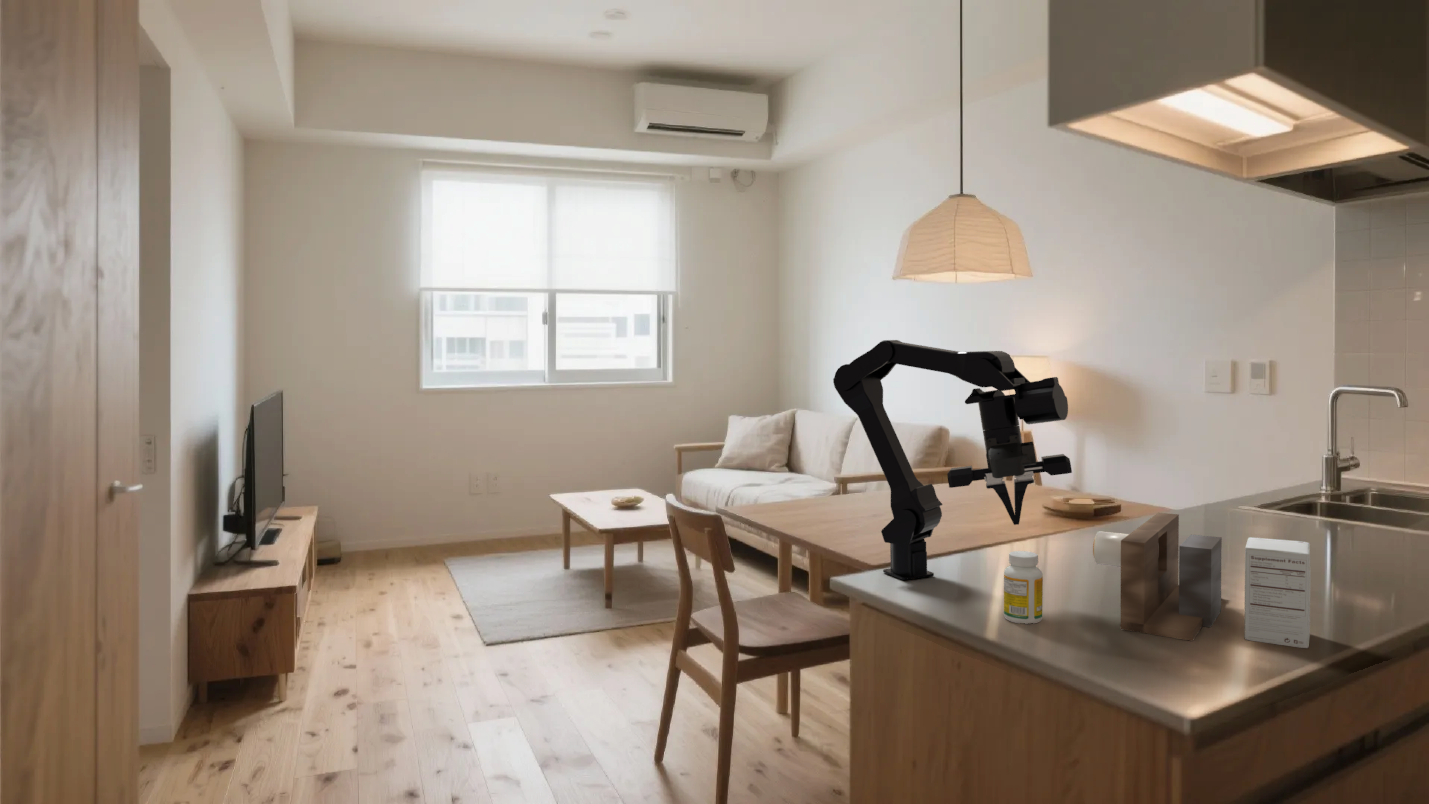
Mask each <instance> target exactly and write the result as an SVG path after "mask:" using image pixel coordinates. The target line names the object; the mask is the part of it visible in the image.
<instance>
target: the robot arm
mask: <svg viewBox="0 0 1429 804" xmlns="http://www.w3.org/2000/svg"><path fill="white" fill-rule="evenodd" d="M1014 362H1015V361H1014V360H1013V358H1012V357H1011V355H1010V353H1007V352H1005V351H1002V350H989V351H988V350H987V351H986V350H983V351H982V350H981V351H958V350H957V351H956V350H952V349H944V348H939V347H933V346H929V345H928V346H926V345H921V344H914V343H908V342H902V341H900V340H899V339H888V340H887V339H886V340H881V341H880V342H879V343H877V344H876V345H875V346H873V347H872V348H871V349H870V350H868V351H866V352H865V353H863V354H861V355H859V356H858V357H856V358H855V359H853V360H852V361H851V362H850V363H848V364H847V363H846V364H843V365H841V366H840V367H839V368H837V370H836V372H834V373H835V374H834V377H833V379H832V380H833V386H834V388H835V391H836V392H837V394H838V395H839V396H840V398H841V399H842V401H843V402H844V404H846V405H847V406H848V408H850V409H851V410H852V411H853V412H854V414H856V415H857V417H858V419H859V421H860V423H861V425H862V428H863V429H864V432H865V435H866V436H867V437H866V438H867V439H868V441H869V443H870V445H871V448H872V450H873V453H874V455H875V457H876V459H877V461H878V464H879V466H880V468H881V470H882V472H883V476H884V477H885V479H886V481H887V484H888V486H889V489H890V509H891V514H892V516H893V519H891V520H890V522H888V523H887V524H886V525H885V526H884V527H883V528H882V529H881V530H880V531H881V535H882V538H883V542H884V543H886V544H887V543H888V544H890V545H889V546H890V555H889V557H890V568H885V569H883V570H882V572H883V574H886V575H889V576H892V577H895V578H897V579H899V580H902V581H908V580H909V581H910V580H913V579H914V580H915V579H921V578H928V577H934V576H935V573H934V572H933V571H930V570H928V552H927V541H925V540H926V539H927V538H931V537H932V535H933V531H934V529H935V528H937V527H938V525H939V524H940V522H941V519H942V517H943V512H942V509H941V506H943V503H942V501H940V499H939V498H938V496H937V494H936V493H937V492H936V489H935V487H934V485H933V484H932V483H929V484H926V485H924V484H923V483H922V482H921V481H920V480H918V478H917V477H916V475H915V473H914V471H913V469H912V466H911V463H910V462H909V459H908V457H907V455H906V453H905V450H904V449H903V446H902V444H901V442H900V440H899V437H898V435H897V433H896V431H895V429H894V427H893V425H892V423H891V419H890V418H889V415H888V414H887V412H886V409H885V407H884V387H883V383H882V381H883V379H885V378H886V377H887V376H888V375H889V374H890V373H891V372H892V371H893V369H895V366H896V365H901V366H906V367H911V368H915V369H922V370H928V371H933V372H938V373H944V374H949V375H952V376H954V377H956V378H958V379H959V380H962V381H963V382H965V383H968V384H972V385H974V386H976V387H977V388H973V389H972V390H971V393H970V395H969V396H968V397H966V399H965V400H964V404H965V405H971V404H978V411H979V416H980V422H981V428H982V434H983V435H982V436H983V441H984V446H985V457H986V463H987V467H985V468H977V469H973V466H972V465H965V466H959V467H951V468H950V469H949V470H948V472H947V474H946V475H947V483H948V488H950V489H951V488H961V487H968V486H970V485H971V484H972V482H973V481H974V482H975V481H983V480H984V482H986V484H985V487H986V489H988V490H989V489H993V491H995V493H996V494H997V496H998V498H999V499H1000V501H1001V502H1002V504H1003V506H1004V508H1005V509H1006V512H1007V514H1008V516H1009V518H1010V519H1011V522H1012V524H1013V525H1014V526H1016V525H1018V526H1019V524H1020V522H1021V521H1020V520H1021V515H1022V507H1023V502H1024V498H1025V493H1026V490H1027V487H1028V485H1030V484H1034V483H1035V480H1034V477H1033V476H1034V474H1041V473H1047V474H1048V475H1050V476H1058V475H1067V474H1072V473H1073V471H1072V464H1071V460H1070V458H1069V457H1068V456H1067V455H1065V454H1064V453H1061V454H1053V455H1044V456H1041V461H1037V457H1036V451H1035V445H1034V442H1033V441H1026V442H1023V440H1022V439H1023V438H1022V434H1021V429H1020V428H1021V427H1020V420H1023V421H1024V423H1025V424H1026V425H1033V424H1034V425H1035V424H1043V423H1050V422H1059V421H1060V422H1061V421H1065V420H1066V419H1067V418H1068V413H1069V404H1068V403H1069V401H1068V397H1067V396H1066V395H1065V391H1064V389H1063V387H1062V386H1061V385H1060V382H1059V377H1057V376H1054V377H1047V378H1043V379H1040V380H1036V381H1035V380H1034V381H1030V380H1029V379H1028V378H1027V377H1025V375H1023V373H1022V372H1021V371H1020V370H1018V368H1016V366H1015V363H1014ZM978 387H979V388H978ZM982 388H994V390H993V389H992V390H987V391H983V390H982ZM1012 390H1014V394H1005V393H1004V391H1006V392H1007V391H1012ZM1006 477H1007V478H1008V477H1014V479H1013V493H1014V494H1013V496H1014V498H1013V499H1014V500H1013V501H1014V507H1013V505H1012V501H1011V497H1010V494H1009V491H1008V488H1007V484H1006V481H1005V480H1004V478H1006Z"/></svg>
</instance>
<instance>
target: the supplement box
mask: <svg viewBox="0 0 1429 804" xmlns="http://www.w3.org/2000/svg"><path fill="white" fill-rule="evenodd" d="M1310 549H1311V543H1310V542H1307V541H1301V540H1290V539H1289V540H1288V539H1279V538H1278V539H1277V538H1276V539H1275V538H1262V537H1250V536H1249V537H1248V538H1247V541H1246V544H1245V547H1244V550H1245V551H1244V639H1245V640H1246V641H1252V642H1257V643H1263V644H1264V643H1266V644H1272V645H1278V646H1279V645H1280V646H1287V647H1293V648H1300V649H1301V648H1302V649H1308V648H1309V644H1310V635H1311V632H1310V631H1311V550H1310Z"/></svg>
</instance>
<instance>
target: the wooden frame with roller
mask: <svg viewBox="0 0 1429 804" xmlns="http://www.w3.org/2000/svg"><path fill="white" fill-rule="evenodd" d="M1179 520H1180V514H1176V513H1167V512H1165V513H1164V512H1157V513H1155V514H1154V515H1153V516H1151V517H1150V518H1149V519H1148V520H1147V521H1145V522H1144V523H1142V524H1141V525H1140V526H1138V527H1137V528H1136V529H1134V530H1133V531H1132V532H1130V533H1128V534H1129V535H1128V536H1126V537H1125V538H1124V539H1122V540H1121V567H1120V630H1121V629H1124V630H1123V631H1128V632H1133V633H1141V634H1146V635H1147V634H1148V635H1154V636H1159V637H1160V636H1161V637H1164V638H1165V637H1167V638H1173V639H1178V640H1185V641H1191V642H1192V641H1194V639H1196V637H1197V635H1198V634H1199V632H1200V630H1201V629H1202V628H1203V627H1207V628H1211V627H1212V626H1213V624H1214V622H1215V621H1216V620H1217V618H1218V616H1219V615H1220V613H1221V611H1222V548H1223V547H1222V544H1223V543H1222V542H1223V541H1222V540H1223V539H1222V537H1220V536H1211V535H1210V536H1209V535H1201V534H1198V535H1197V534H1190V535H1189V536H1188V537H1187V538H1186V539H1185V540H1184V541H1183V542H1182V543H1180V545H1179V537H1180V536H1179V535H1180V534H1179V530H1180V529H1179V527H1180V525H1179V524H1180V523H1179V522H1180V521H1179ZM1158 544H1159V557H1158Z"/></svg>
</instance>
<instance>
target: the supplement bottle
mask: <svg viewBox="0 0 1429 804" xmlns="http://www.w3.org/2000/svg"><path fill="white" fill-rule="evenodd" d="M1008 563H1009V564H1010V565H1009V566H1007V567H1006V568H1005V569H1004V571H1003V617H1004V618H1005V620H1007V621H1009V622H1012V623H1014V624H1015V623H1016V624H1020V623H1025V624H1024V625H1029V624H1028V623H1033V624H1037V623H1039V621H1040V622H1041V621H1042V620H1043V594H1044V593H1043V590H1044V589H1043V586H1044V585H1043V582H1044V581H1043V580H1044V577H1043V572H1042V570H1041V568H1039V567H1037V565H1038V564H1039V555H1038V553H1035V552H1032V551H1027V550H1017V551H1016V550H1015V551H1010V552H1009V553H1008Z"/></svg>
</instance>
